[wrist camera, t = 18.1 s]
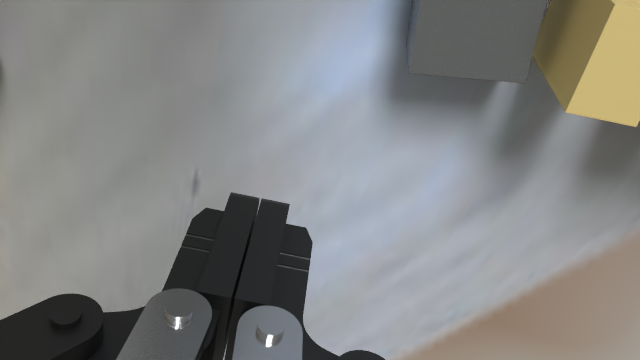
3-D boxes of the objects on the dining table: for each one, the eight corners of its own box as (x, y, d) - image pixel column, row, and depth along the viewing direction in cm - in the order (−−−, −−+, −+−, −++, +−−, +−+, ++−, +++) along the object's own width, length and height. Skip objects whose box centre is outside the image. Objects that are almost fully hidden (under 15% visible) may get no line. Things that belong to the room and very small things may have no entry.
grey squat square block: (406, 44, 41) (409, 73, 37) (421, -66, 37) (427, -48, 33) (510, 53, 41) (525, 83, 36) (536, -57, 37) (557, -37, 33)
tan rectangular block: (530, 52, 40) (565, 112, 33) (566, -40, 37) (615, 4, 29) (587, 64, 40) (636, 126, 33) (629, -26, 37) (693, 20, 30)
